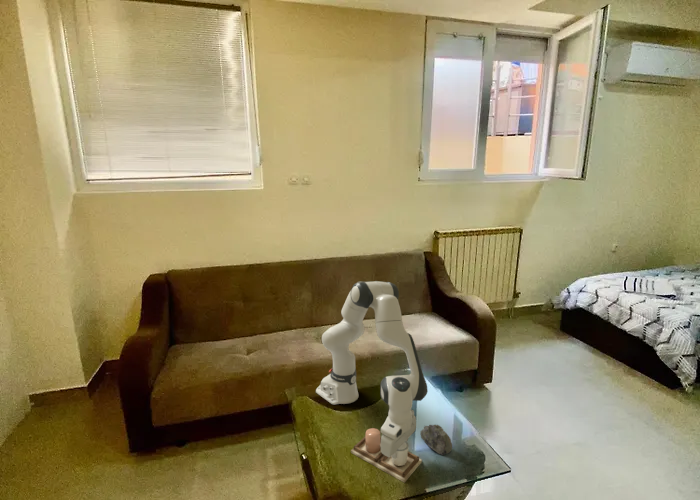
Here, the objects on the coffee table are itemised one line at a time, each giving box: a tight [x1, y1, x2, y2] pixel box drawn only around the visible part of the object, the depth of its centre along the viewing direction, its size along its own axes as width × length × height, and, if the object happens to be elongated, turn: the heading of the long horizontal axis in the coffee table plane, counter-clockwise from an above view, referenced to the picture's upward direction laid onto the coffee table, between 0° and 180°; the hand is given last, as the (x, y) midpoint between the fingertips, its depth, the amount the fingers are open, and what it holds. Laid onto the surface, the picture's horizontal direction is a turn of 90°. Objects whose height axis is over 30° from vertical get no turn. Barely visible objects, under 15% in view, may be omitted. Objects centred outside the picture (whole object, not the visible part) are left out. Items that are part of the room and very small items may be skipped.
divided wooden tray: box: [350, 435, 423, 483], centre depth 155 cm, size 25×13×2 cm, turn 52°
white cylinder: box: [392, 441, 409, 466], centre depth 151 cm, size 7×7×7 cm
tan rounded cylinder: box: [365, 427, 381, 454], centre depth 158 cm, size 6×6×7 cm
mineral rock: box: [420, 424, 453, 456], centre depth 161 cm, size 13×11×10 cm
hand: (399, 452), depth 151 cm, fingers closed on white cylinder, 5 cm apart
